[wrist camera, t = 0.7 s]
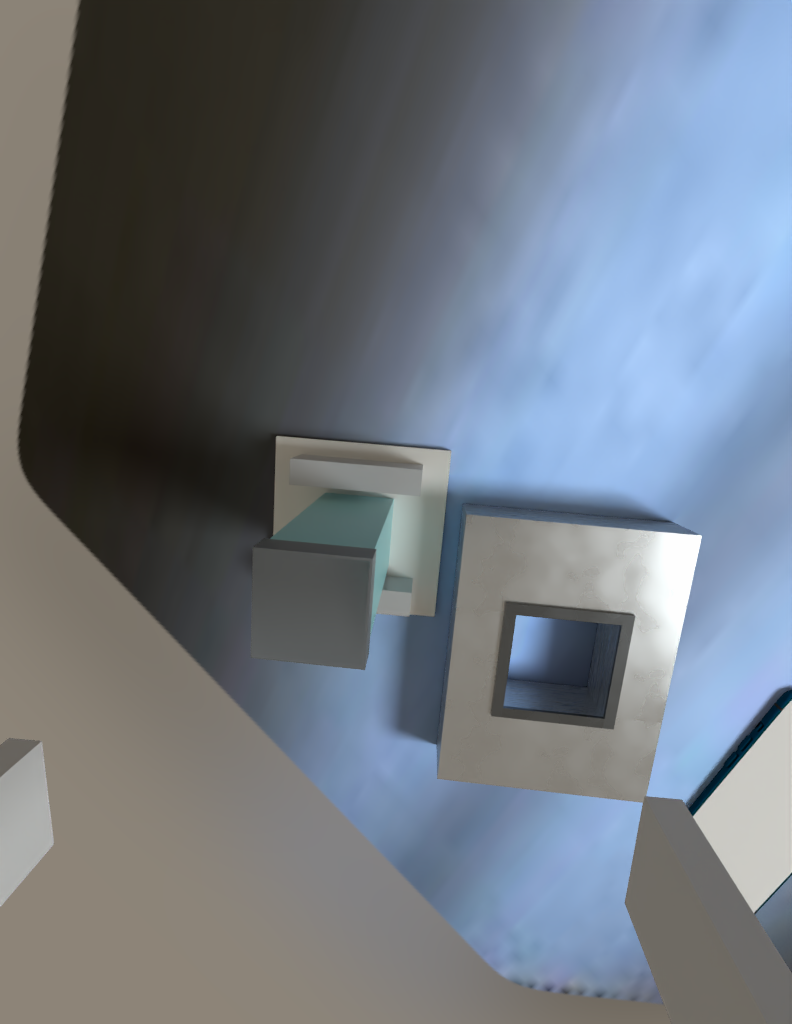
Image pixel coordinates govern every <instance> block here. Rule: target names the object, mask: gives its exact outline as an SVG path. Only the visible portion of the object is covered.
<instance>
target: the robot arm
mask: <svg viewBox="0 0 792 1024" xmlns="http://www.w3.org/2000/svg"><path fill="white" fill-rule="evenodd" d="M53 844H54V840H53V832H52V823H51V815H50V807H49V798H48V789H47V781H46V773H45V765H44V756H43V748H42V741H35V740H24V739H13V738H9V739H7V740H6V741H5V742H3V743H2V744H1V745H0V907H1V905H2V904H3V903H4V902H5V901H6V900H7V898H8V897H9V896H10V895H11V894H12V892H13V891H14V890H15V889H16V888H17V887H18V885H19V884H20V883H21V882H22V881H23V880H24V878H25V877H26V876H27V875H28V874H29V873H30V871H31V870H32V869H33V868H34V867H35V865H36V864H37V863H38V862H39V861H40V860H41V859H42V857H43V856H44V855H45V854H46V853H47V851H48V850H49V849H50V848H51V847H52V846H53ZM625 905H626V907H627V910H628V913H629V915H630V918H631V920H632V923H633V925H634V928H635V931H636V933H637V936H638V938H639V941H640V944H641V946H642V949H643V951H644V954H645V956H646V959H647V962H648V964H649V967H650V969H651V972H652V975H653V977H654V980H655V982H656V985H657V987H658V990H659V993H660V995H661V998H662V1000H663V1003H664V1006H665V1008H666V1011H667V1013H668V1016H669V1018H670V1021H671V1024H792V973H791V972H790V970H789V968H788V967H787V965H786V964H785V962H784V960H783V959H782V957H781V956H780V954H779V953H778V951H777V949H776V948H775V946H774V945H773V943H772V941H771V940H770V938H769V937H768V935H767V934H766V932H765V930H764V929H763V927H762V926H761V924H760V922H759V921H758V919H757V918H756V916H755V915H754V913H753V911H752V910H751V908H750V907H749V905H748V903H747V902H746V900H745V899H744V897H743V896H742V894H741V892H740V891H739V889H738V888H737V886H736V884H735V883H734V881H733V880H732V878H731V876H730V875H729V873H728V872H727V870H726V869H725V867H724V865H723V864H722V862H721V861H720V859H719V857H718V856H717V854H716V853H715V851H714V850H713V848H712V846H711V845H710V843H709V842H708V840H707V838H706V837H705V835H704V834H703V832H702V831H701V829H700V827H699V826H698V824H697V823H696V821H695V819H694V818H693V816H692V815H691V813H690V812H689V810H688V808H687V807H686V805H685V804H684V802H683V800H680V799H669V798H658V797H647V796H644V801H643V806H642V811H641V817H640V822H639V828H638V833H637V839H636V844H635V850H634V855H633V861H632V866H631V872H630V877H629V883H628V888H627V894H626V899H625Z"/></svg>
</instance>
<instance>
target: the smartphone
mask: <svg viewBox="0 0 792 1024" xmlns="http://www.w3.org/2000/svg"><path fill="white" fill-rule="evenodd" d="M688 810H689V812H690V813H691V815H692V816H693V818H694V819H695V821H696V823H697V824H698V826H699V827H700V829H701V831H702V832H703V834H704V835H705V837H706V838H707V840H708V842H709V843H710V845H711V846H712V848H713V850H714V851H715V853H716V854H717V856H718V857H719V859H720V861H721V862H722V864H723V865H724V867H725V869H726V870H727V872H728V873H729V875H730V876H731V878H732V880H733V881H734V883H735V884H736V886H737V888H738V889H739V891H740V892H741V894H742V896H743V897H744V899H745V900H746V902H747V903H748V905H749V907H750V908H751V910H752V911H753V913H754V915H755V914H756V913H757V911H758V910H759V909H760V908H761V907H762V906H763V905H764V904H765V903H766V902H767V901H768V900H769V899H770V898H771V897H772V895H773V894H774V893H775V892H776V891H777V890H778V889H779V888H780V887H781V886H782V885H783V884H784V883H785V882H786V881H787V880H788V878H789V877H790V876H791V875H792V690H789V691H787V692H785V693H784V694H783V695H782V696H781V697H780V698H779V699H778V700H777V702H776V703H775V704H774V705H773V706H772V708H771V709H770V710H769V711H768V713H767V714H766V715H765V716H764V717H763V719H762V720H761V721H760V722H759V724H758V725H757V726H756V727H755V728H754V730H753V731H752V732H751V733H750V735H748V736H746V737H745V739H744V740H743V741H742V742H741V743H740V745H739V746H738V749H737V750H736V752H733V753H732V754H731V756H730V757H729V758H728V759H727V761H726V762H725V763H724V766H723V768H722V769H721V770H720V771H719V772H718V774H717V775H716V776H715V777H714V779H713V780H712V781H711V782H710V783H709V785H708V786H707V787H706V788H705V790H704V791H703V792H702V793H701V794H700V796H699V797H698V798H697V799H696V801H695V802H694V803H693V804H692V805H691V807H690V808H689V809H688Z"/></svg>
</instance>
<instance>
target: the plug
mask: <svg viewBox="0 0 792 1024" xmlns="http://www.w3.org/2000/svg"><path fill="white" fill-rule="evenodd" d="M393 505H394V499H392V498H381V497H370V496H359V495H348V494H336V493H324V494H323V495H322V496H321V497H319V498H318V499H317V500H316V501H315V502H313V503H312V504H311V505H310V506H309V507H307V508H306V509H305V510H304V511H303V512H301V513H300V514H299V515H298V516H297V517H295V518H294V519H293V520H292V521H290V522H289V523H288V524H287V525H286V526H284V527H283V528H282V529H281V530H280V531H278V532H277V533H276V534H275V535H274V536H272V537H271V538H270V539H265V538H264V539H263V540H261V541H260V542H259V543H258V544H256V545H255V546H254V547H253V568H252V619H251V658H258V659H267V660H277V661H286V662H296V663H305V664H314V665H324V666H333V667H343V668H352V669H361V670H365V667H366V663H367V659H368V655H369V644H370V635H371V631H372V628H373V624H374V620H375V616H376V612H377V608H378V604H379V601H380V597H381V593H382V589H383V585H384V581H385V577H386V573H387V570H388V566H389V555H390V543H391V530H392V517H393Z"/></svg>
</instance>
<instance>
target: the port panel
mask: <svg viewBox="0 0 792 1024" xmlns="http://www.w3.org/2000/svg"><path fill="white" fill-rule="evenodd" d="M701 537H702V536H701V535H699V534H697V533H695V532H693V531H691V530H689V529H687V528H684V527H682V526H680V525H678V524H676V523H674V522H663V521H652V520H640V519H629V518H618V517H607V516H596V515H585V514H574V513H562V512H551V511H540V510H529V509H518V508H507V507H495V506H484V505H473V504H463V508H462V517H461V526H460V535H459V545H458V554H457V563H456V572H455V581H454V590H453V600H452V609H451V618H450V627H449V636H448V645H447V655H446V664H445V673H444V682H443V691H442V701H441V710H440V719H439V728H438V737H437V779H444V780H453V781H461V782H470V783H478V784H487V785H496V786H504V787H513V788H522V789H530V790H539V791H547V792H556V793H565V794H573V795H582V796H591V797H599V798H608V799H616V800H625V801H634V802H642V803H643V801H644V796H646V794H647V789H648V785H649V780H650V775H651V771H652V766H653V761H654V757H655V752H656V747H657V743H658V738H659V733H660V729H661V724H662V719H663V715H664V710H665V705H666V701H667V696H668V691H669V687H670V682H671V677H672V673H673V668H674V663H675V659H676V654H677V649H678V644H679V640H680V635H681V630H682V626H683V621H684V616H685V612H686V607H687V602H688V598H689V593H690V588H691V584H692V579H693V574H694V570H695V565H696V560H697V556H698V551H699V546H700V542H701ZM516 615H523V616H533V617H543V618H553V619H563V620H573V621H583V622H593V623H598V628H597V633H596V639H595V645H594V650H593V656H592V662H591V667H590V673H589V679H588V685H587V687H578V686H569V685H559V684H550V683H540V682H531V681H521V680H512V679H507V677H508V670H509V663H510V655H511V648H512V641H513V634H514V626H515V619H516Z"/></svg>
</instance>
